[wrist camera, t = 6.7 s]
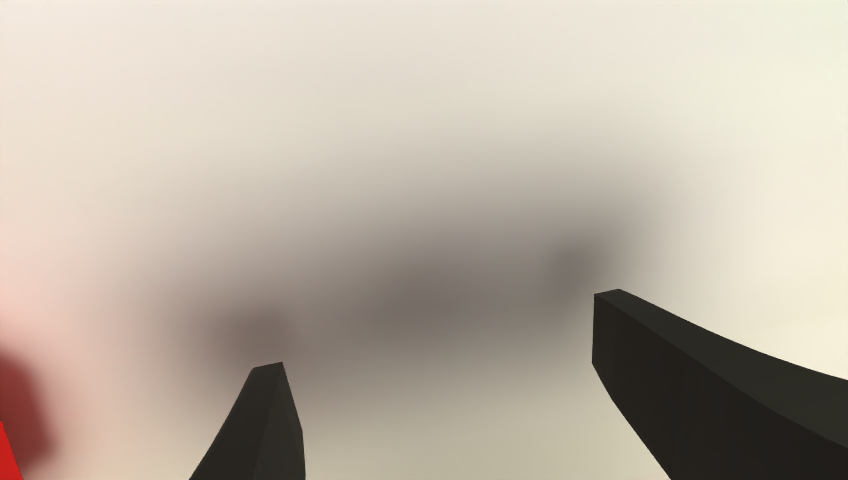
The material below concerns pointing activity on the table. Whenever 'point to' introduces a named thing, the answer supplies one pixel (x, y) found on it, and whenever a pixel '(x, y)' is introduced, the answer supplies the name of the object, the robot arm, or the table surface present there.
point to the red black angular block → (7, 459)
